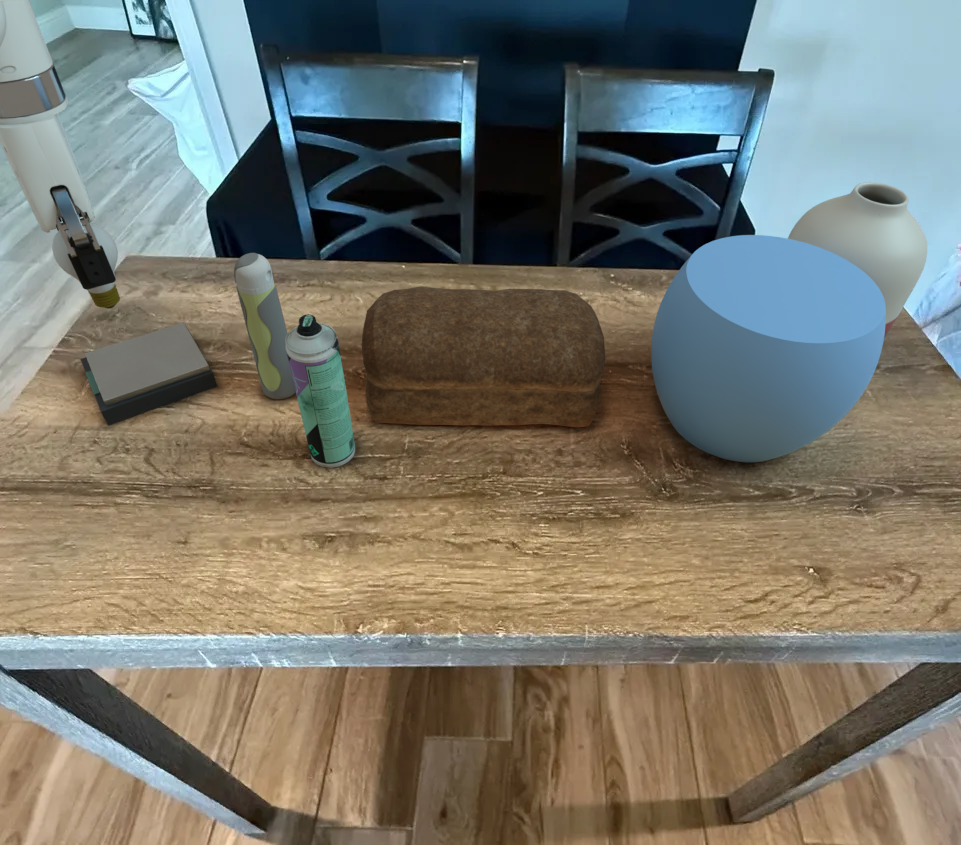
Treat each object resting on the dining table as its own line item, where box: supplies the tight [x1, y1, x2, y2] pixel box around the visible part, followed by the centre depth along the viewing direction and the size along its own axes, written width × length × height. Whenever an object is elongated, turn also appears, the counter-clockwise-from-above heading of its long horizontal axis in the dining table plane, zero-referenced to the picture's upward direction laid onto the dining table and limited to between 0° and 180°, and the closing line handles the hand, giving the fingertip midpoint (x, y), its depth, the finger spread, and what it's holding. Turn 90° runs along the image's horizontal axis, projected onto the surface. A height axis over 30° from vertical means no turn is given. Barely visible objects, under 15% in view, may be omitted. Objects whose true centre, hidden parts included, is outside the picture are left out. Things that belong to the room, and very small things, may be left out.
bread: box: [361, 286, 606, 428], centre depth 87 cm, size 17×30×13 cm, turn 90°
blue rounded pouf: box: [650, 234, 886, 463], centre depth 82 cm, size 25×25×20 cm
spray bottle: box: [233, 252, 296, 400], centre depth 84 cm, size 5×5×20 cm
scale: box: [80, 322, 219, 427], centre depth 90 cm, size 14×12×4 cm
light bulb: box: [51, 222, 121, 310], centre depth 72 cm, size 6×6×10 cm
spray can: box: [285, 314, 356, 469], centre depth 76 cm, size 6×6×20 cm
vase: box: [787, 181, 928, 340], centre depth 92 cm, size 17×17×24 cm
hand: (92, 268), depth 72 cm, fingers closed on light bulb, 5 cm apart
